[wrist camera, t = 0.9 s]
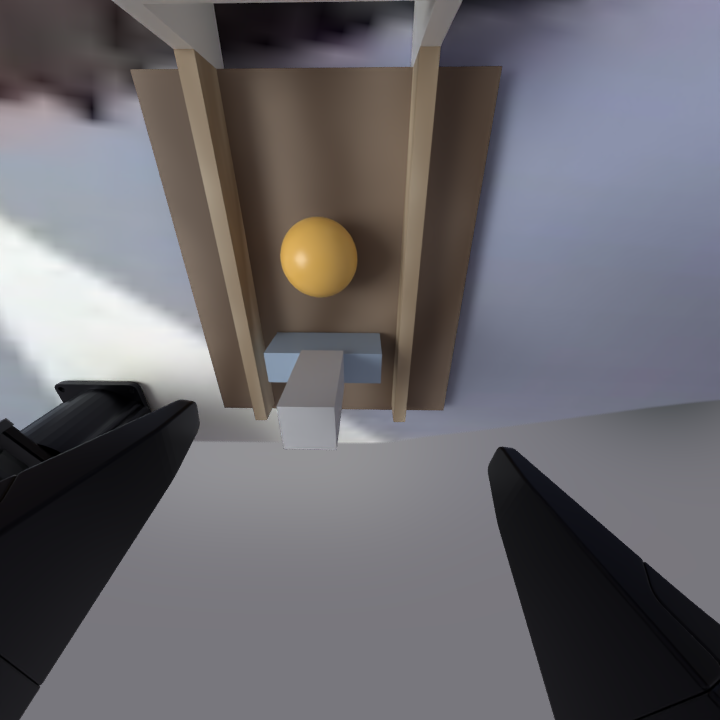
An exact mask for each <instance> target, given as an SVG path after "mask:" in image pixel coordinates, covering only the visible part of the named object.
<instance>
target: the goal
mask: <svg viewBox="0 0 720 720" xmlns="http://www.w3.org/2000/svg"><path fill="white" fill-rule="evenodd" d="M112 1H113V2H115V3H116V4H117V5H118V6H120V7H121V8H122V9H123V10H125V11H126V12H127V13H129V14H130V15H131V16H132V17H134V18H135V19H136V20H137V21H139V22H140V23H141V24H142V25H144V26H145V27H146V28H148V29H149V30H150V31H151V32H153V33H154V34H155V35H156V36H158V37H159V38H160V39H162V40H163V41H164V42H165V43H167V44H168V45H169V46H170V47H172V48H173V49H194V50H195V51H197V52H198V53H199V54H200V55H201V56H202V57H203V58H205V59H206V60H207V61H208V62H209V63H210V64H211V65H213V66H214V67H215V68H216V69H224V64H223V58H222V52H221V46H220V40H219V34H218V28H217V22H216V16H215V10H214V4H213V3H272V2H348V1H415V5H414V22H413V38H412V55H411V67H413V66H414V63H415V60H416V57H417V54H418V51H419V49H420V46H441V45H442V42H443V40H444V38H445V36H446V34H447V32H448V30H449V28H450V26H451V24H452V22H453V19H454V17H455V15H456V13H457V11H458V9H459V7H460V5H461V3H462V1H463V0H112Z"/></svg>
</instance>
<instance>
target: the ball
mask: <svg viewBox="0 0 720 720" xmlns="http://www.w3.org/2000/svg"><path fill="white" fill-rule="evenodd" d="M280 259H281V265H282V269H283V271H284V274H285V276H286V277H287V279H288V280H289V282H290V283H291V284H292V285H293V286H294V287H295V288H296V289H297V290H299V291H300V292H302V293H304V294H306V295H309V296H312V297H319V298H322V297H329V296H333V295H335V294H337V293H339V292H341V291H342V290H343V289H345V288H346V287H347V286H348V284H349V283H350V282H351V280H352V278H353V276H354V274H355V271H356V268H357V250H356V246H355V243H354V241H353V239H352V237H351V235H350V234H349V233H348V231H347V230H346V229H345V228H344V227H343V226H342V225H340V224H339V223H338V222H336V221H334V220H331V219H329V218H325V217H309V218H306V219H303V220H301V221H299V222H297V223H296V224H295V225H294V226H292V227H291V228H290V229H289V231H288V232H287V234H286V235H285V237H284V239H283V242H282V246H281V252H280Z"/></svg>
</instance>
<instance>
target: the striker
mask: <svg viewBox="0 0 720 720" xmlns="http://www.w3.org/2000/svg"><path fill="white" fill-rule="evenodd" d="M264 358H265V364H266V370H267V375H268V381H269V382H287V384H286V386H285V388H284V391H283V393H282V395H281V398H280V400H279V402H278V404H277V413H278V418H279V424H280V430H281V436H282V442H283V447H284V449H314V450H315V449H316V450H337V442H338V434H339V426H340V418H341V409H342V401H343V393H344V383H381V362H382V351H381V340H380V333H298V332H277V334H276V335H275V337H274V338H273V340H272V341H271V343H270V344H269V346H268V347H267V349H266V350H265V352H264Z"/></svg>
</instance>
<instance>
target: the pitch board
mask: <svg viewBox="0 0 720 720" xmlns="http://www.w3.org/2000/svg"><path fill="white" fill-rule="evenodd" d="M440 48H441V46H420V49H419V51H418V54H417V57H416V60H415V63H414V66H413V67H359V68H248V69H216V68H215V67H214V66H213V65H211V64H210V63H209V62H208V61H207V60H206V59H205V58H203V57H202V56H201V55H200V54H199V53H198V52H197V51H195V50H194V49H174V53H175V57H176V62H177V66H178V69H137V70H131V74H132V77H133V81H134V84H135V88H136V92H137V95H138V99H139V102H140V106H141V110H142V113H143V117H144V120H145V124H146V127H147V131H148V135H149V138H150V142H151V145H152V149H153V153H154V156H155V160H156V163H157V167H158V170H159V174H160V178H161V181H162V185H163V188H164V192H165V195H166V199H167V203H168V206H169V210H170V213H171V217H172V221H173V224H174V228H175V231H176V235H177V238H178V242H179V246H180V249H181V253H182V256H183V260H184V264H185V267H186V271H187V274H188V278H189V281H190V285H191V289H192V292H193V296H194V299H195V303H196V307H197V310H198V314H199V317H200V321H201V324H202V328H203V332H204V335H205V339H206V342H207V346H208V350H209V353H210V357H211V360H212V364H213V367H214V371H215V375H216V378H217V382H218V385H219V389H220V393H221V396H222V400H223V403H224V407H225V408H253V410H254V415H255V419H256V420H267V419H268V417H269V414H270V412H271V410H272V408H277V404H278V402H279V400H280V398H281V395H282V393H283V391H284V388H285V386H286V384H287V382H269V381H268V375H267V370H266V364H265V358H264V352H265V350H266V349H267V347H268V346H269V344H270V343H271V341H272V340H273V338H274V337H275V335H276V334H277V332H298V333H380V340H381V351H382V362H381V383H344V393H343V401H342V409H380V410H392V412H393V420H394V422H405V417H406V410H443V408H444V403H445V397H446V391H447V385H448V379H449V373H450V368H451V362H452V356H453V350H454V344H455V338H456V333H457V327H458V321H459V315H460V309H461V303H462V298H463V292H464V286H465V280H466V274H467V268H468V263H469V257H470V251H471V245H472V239H473V233H474V228H475V222H476V216H477V210H478V204H479V198H480V193H481V187H482V181H483V175H484V169H485V164H486V158H487V152H488V146H489V140H490V134H491V129H492V123H493V117H494V111H495V105H496V99H497V94H498V88H499V82H500V76H501V70H502V66H470V67H439V59H440ZM309 217H325V218H329V219H331V220H334V221H336V222H338V223H339V224H340V225H342V226H343V227H344V228H345V229H346V230H347V231H348V233H349V234H350V235H351V237H352V239H353V241H354V243H355V246H356V250H357V268H356V271H355V274H354V276H353V278H352V280H351V282H350V283H349V284H348V286H347V287H346V288H345V289H343V290H342V291H341V292H339V293H337V294H335V295H333V296H329V297H322V298H319V297H312V296H309V295H306V294H304V293H302V292H300V291H299V290H297V289H296V288H295V287H294V286H293V285H292V284H291V283H290V282H289V280H288V279H287V277H286V276H285V274H284V271H283V269H282V265H281V259H280V252H281V246H282V242H283V239H284V237H285V235H286V234H287V232H288V231H289V229H290V228H291V227H292V226H294V225H295V224H296V223H297V222H299V221H301V220H303V219H306V218H309Z"/></svg>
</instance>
